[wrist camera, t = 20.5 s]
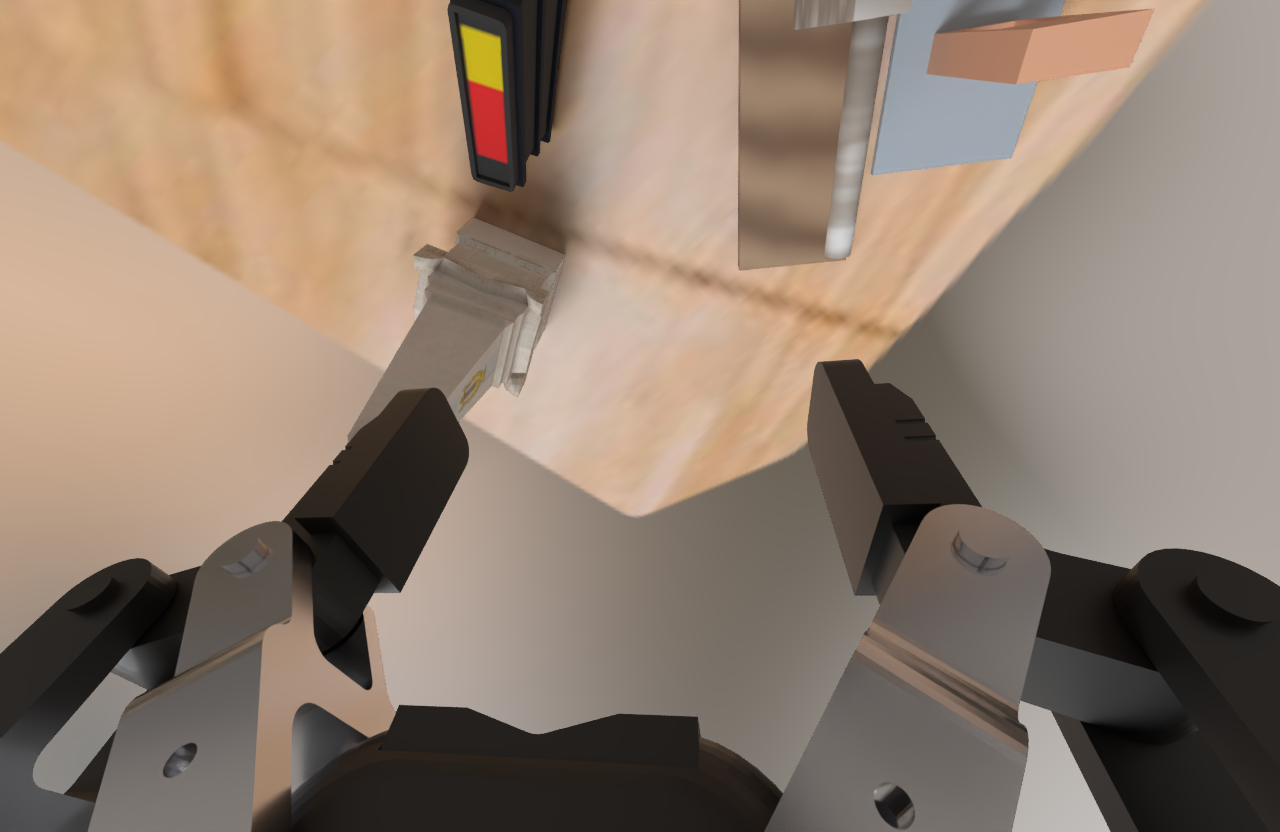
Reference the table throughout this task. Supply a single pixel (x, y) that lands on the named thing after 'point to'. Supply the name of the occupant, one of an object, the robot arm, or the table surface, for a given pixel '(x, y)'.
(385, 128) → the table surface
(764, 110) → the stand
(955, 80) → the mat
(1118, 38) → the salmon hollow block
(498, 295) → the miniature monument
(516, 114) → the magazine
